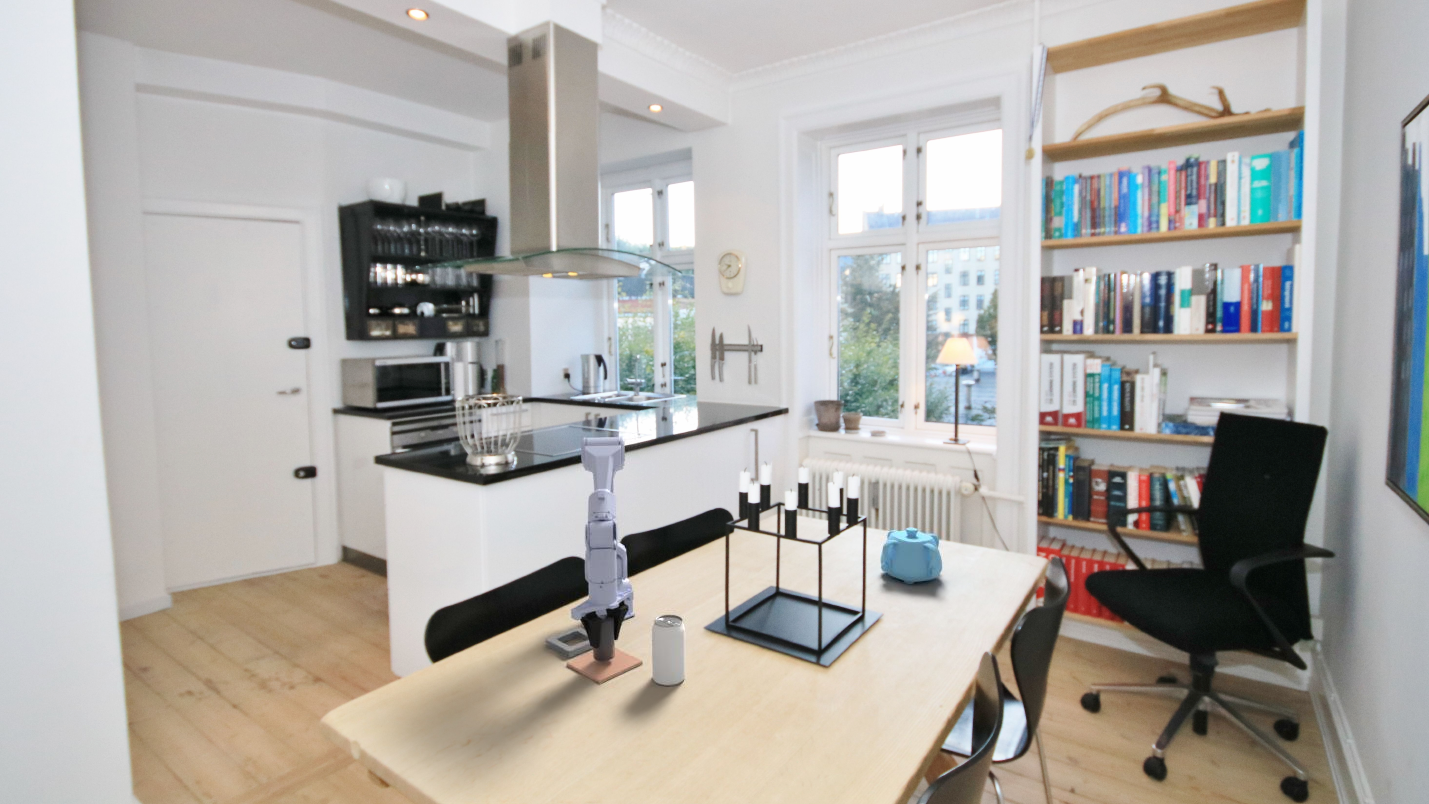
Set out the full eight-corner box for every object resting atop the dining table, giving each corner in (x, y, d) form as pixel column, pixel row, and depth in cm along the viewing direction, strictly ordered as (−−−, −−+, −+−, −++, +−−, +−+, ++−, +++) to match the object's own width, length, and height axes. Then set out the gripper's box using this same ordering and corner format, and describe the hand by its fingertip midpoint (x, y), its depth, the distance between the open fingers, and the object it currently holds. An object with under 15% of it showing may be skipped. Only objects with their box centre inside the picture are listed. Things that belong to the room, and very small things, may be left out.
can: (670, 667, 145) (670, 610, 144) (692, 678, 141) (691, 620, 139) (646, 678, 141) (645, 620, 139) (667, 690, 136) (666, 630, 135)
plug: (605, 649, 149) (604, 612, 149) (619, 655, 146) (618, 618, 146) (588, 656, 146) (587, 619, 145) (602, 663, 143) (600, 624, 142)
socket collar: (578, 632, 161) (578, 626, 161) (601, 644, 156) (601, 637, 155) (546, 645, 155) (545, 638, 155) (569, 658, 149) (569, 651, 149)
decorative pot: (873, 581, 193) (874, 532, 191) (887, 563, 207) (888, 517, 205) (935, 591, 185) (936, 540, 184) (945, 571, 200) (947, 524, 198)
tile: (609, 647, 154) (608, 644, 154) (642, 663, 147) (642, 660, 147) (566, 665, 146) (566, 662, 146) (600, 683, 139) (599, 680, 139)
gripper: (585, 593, 136) (587, 660, 138) (642, 573, 147) (643, 636, 148) (564, 584, 141) (566, 649, 143) (620, 566, 152) (622, 627, 153)
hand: (604, 642), depth 146 cm, fingers closed on plug, 4 cm apart
